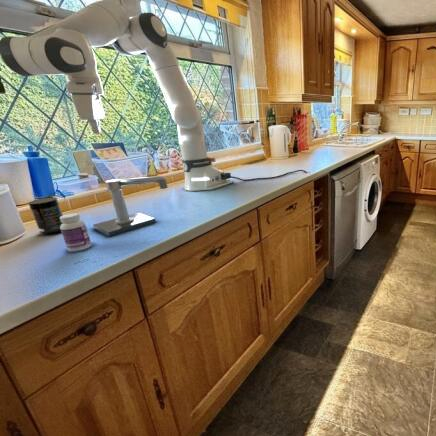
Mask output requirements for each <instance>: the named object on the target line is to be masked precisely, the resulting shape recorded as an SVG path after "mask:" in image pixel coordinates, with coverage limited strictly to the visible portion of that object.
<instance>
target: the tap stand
mask: <svg viewBox="0 0 436 436" xmlns="http://www.w3.org/2000/svg"><path fill="white" fill-rule="evenodd" d="M109 193H110V198H111V201H112V204H113V207H114V212H115V215H116V217H117V218H112V219H109V220H105V221H102V222H99V223H93V224H92V226H93V229H94V230H96V231H97V232H100V233H102V234H103V235H106V236H108V237H112V236H115V235H118V234H122V233H125V232H129V231H132V230H136V229H138V228H142V227H146V226H149V225H152V224H154V223H156V222H157V221H156V218H155V217H152V216H149V215H147V214H144V213H141V212H135V213H131V214H129V211H128V208H127V204H126V200H125V197H124V193H123V188H122V189H120V190H114V191H109Z"/></svg>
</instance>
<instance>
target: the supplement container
mask: <svg viewBox="0 0 436 436" xmlns="http://www.w3.org/2000/svg"><path fill="white" fill-rule="evenodd" d="M28 206H29V208H30V211H31V213H32V216H33V219H34V221H35V224H36V226H37V228H38V231H39V233H40V234H41V235H43V236H51V235H57V234H60V233H62V232H61V229H60V226H61V224H63V223H62V222H61V220H60V217H61V216H63V215H64V213H63V212H62V209H61V206H60V202H59V201H58V198H57V197H46V198H44V197H43V198H39V199H35V200H32V201H28Z"/></svg>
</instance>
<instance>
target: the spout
mask: <svg viewBox="0 0 436 436" xmlns="http://www.w3.org/2000/svg"><path fill="white" fill-rule="evenodd" d="M144 184H145V185H147V184H158V185H159V189H160V190H165V189H168V188H169V187H168V183H167V179H166V177H165V176H163V175H158V176H145V177H132V178H121V179H120V178H114V179H108V180H106V181H105V185H106V190H107V191H108V192H110V191H114V190H120V189H122V190H123V187H124V186H133V185H144Z"/></svg>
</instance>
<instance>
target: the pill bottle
mask: <svg viewBox="0 0 436 436" xmlns="http://www.w3.org/2000/svg"><path fill="white" fill-rule="evenodd" d="M60 220H61V222H62V223H63V224H61V226H60V229H61V232H60V233H61V235H62V237H63V240H64V244H65V246H66V248H67V251H69V252H79V251H80V252H81V251H84V250H87V249H88V248H90V247H91V246H92V241H91V239H90V235H89V232H88V228H87V226H86V222H84V221H83V220H82V219H81V218H80V215H79V213H76V212H75V213H74V212H73V213H68V214H63V216H61V217H60Z"/></svg>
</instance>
